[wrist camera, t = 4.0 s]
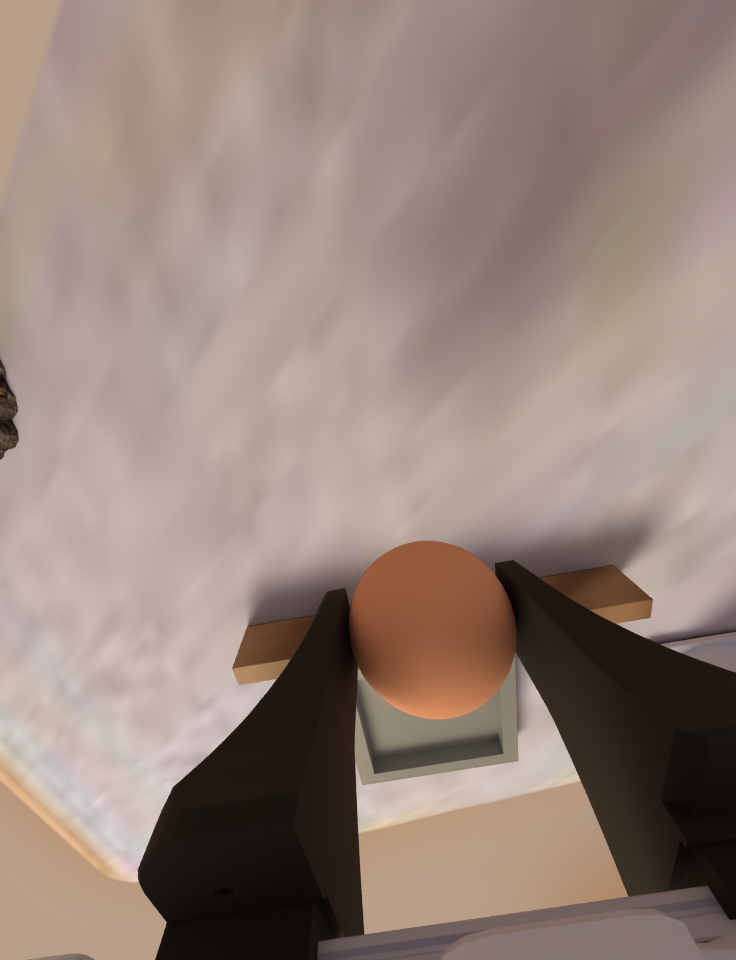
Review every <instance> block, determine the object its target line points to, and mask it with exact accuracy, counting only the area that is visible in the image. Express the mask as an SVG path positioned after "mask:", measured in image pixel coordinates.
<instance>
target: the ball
mask: <svg viewBox="0 0 736 960" xmlns="http://www.w3.org/2000/svg"><path fill="white" fill-rule="evenodd" d="M349 638H350V644H351V648H352V652H353V655H354V658H355V661H356V663H357V665H358V667H359V669H360V671H361V673H362V675H363V676H364V678H365V679H366V681H367V682H368V683H369V685H370V686H371V687H372V689H373V690H374V691H375V692H377V693H378V694H379V695H380V696H381V697H382V698H383V699H384V700H385V701H386V702H388V703H389V704H391V705H392V706H394V707H395V708H397V709H399V710H401V711H403V712H405V713H408V714H410V715H414V716H417V717H420V718H426V719H449V718H454V717H459V716H462V715H465V714H467V713H470V712H472V711H474V710H476V709H478V708H479V707H481V706H482V705H483V704H485V703H486V702H487V701H488V700H489V699H490V698H491V697H492V696H493V695H494V694H495V693H496V692H497V691H498V690H499V689H500V687H501V686H502V684H503V682H504V681H505V679H506V677H507V675H508V674H509V671H510V669H511V666H512V663H513V659H514V655H515V651H516V639H517V632H516V622H515V616H514V612H513V609H512V605H511V602H510V599H509V597H508V595H507V593H506V591H505V589H504V587H503V585H502V584H501V582H500V581H499V580H498V578H497V577H496V576H495V574H494V573H493V572H492V571H491V570H490V569H489V568H488V567H487V566H486V565H485V564H484V563H483V562H482V561H481V560H480V559H478V558H477V557H476V556H474V555H472V554H471V553H469V552H467V551H465V550H464V549H462V548H459V547H457V546H454V545H451V544H447V543H443V542H436V541H419V542H412V543H408V544H404V545H401V546H398V547H396V548H394V549H392V550H390V551H388V552H387V553H385V554H384V555H382V556H381V557H380V558H379V559H377V560H376V561H375V562H374V563H373V564H372V565H371V566H370V567H369V568H368V569H367V571H366V572H365V573H364V575H363V576H362V578H361V580H360V582H359V583H358V585H357V587H356V589H355V592H354V595H353V598H352V601H351V606H350V611H349Z"/></svg>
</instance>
